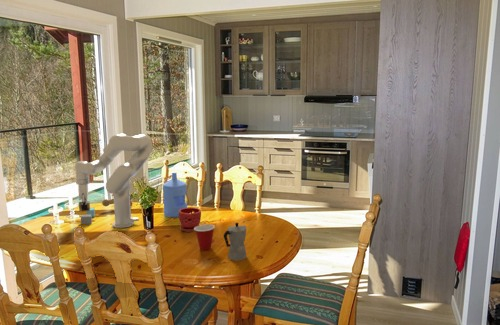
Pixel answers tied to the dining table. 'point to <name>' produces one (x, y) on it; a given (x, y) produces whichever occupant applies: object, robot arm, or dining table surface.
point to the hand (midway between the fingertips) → (85, 209)
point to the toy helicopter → (112, 201)
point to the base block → (86, 219)
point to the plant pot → (189, 219)
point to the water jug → (174, 196)
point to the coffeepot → (236, 242)
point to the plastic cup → (204, 236)
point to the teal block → (91, 212)
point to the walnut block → (87, 206)
